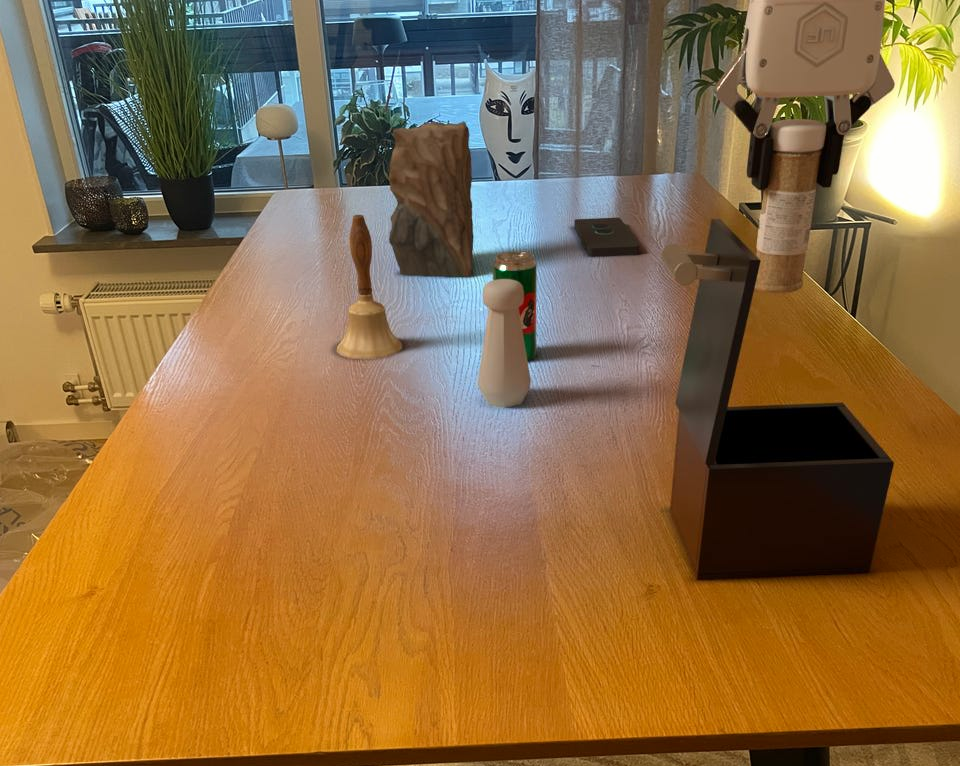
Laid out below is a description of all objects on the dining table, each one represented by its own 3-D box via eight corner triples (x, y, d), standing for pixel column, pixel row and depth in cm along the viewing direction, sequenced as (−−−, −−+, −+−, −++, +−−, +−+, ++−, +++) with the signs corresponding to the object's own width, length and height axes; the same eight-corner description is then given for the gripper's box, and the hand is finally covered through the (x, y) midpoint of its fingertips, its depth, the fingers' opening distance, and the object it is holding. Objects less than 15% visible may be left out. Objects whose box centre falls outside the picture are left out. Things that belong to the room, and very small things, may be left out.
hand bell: (416, 348, 126) (407, 213, 117) (365, 366, 121) (352, 227, 112) (373, 334, 131) (362, 204, 122) (323, 351, 126) (307, 216, 117)
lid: (720, 219, 74) (658, 214, 74) (761, 260, 65) (689, 255, 64) (683, 404, 82) (627, 400, 82) (714, 464, 73) (650, 461, 73)
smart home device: (620, 216, 174) (641, 245, 157) (620, 226, 175) (640, 256, 158) (572, 218, 173) (588, 247, 157) (572, 228, 174) (588, 259, 158)
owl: (389, 278, 152) (378, 132, 141) (411, 256, 162) (402, 118, 151) (471, 280, 150) (466, 132, 139) (487, 258, 160) (484, 118, 149)
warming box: (823, 507, 88) (843, 402, 83) (868, 576, 79) (894, 462, 73) (669, 514, 88) (678, 408, 83) (696, 583, 79) (709, 469, 73)
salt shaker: (484, 415, 108) (480, 292, 100) (473, 395, 112) (469, 276, 105) (536, 409, 109) (537, 287, 101) (524, 390, 113) (523, 272, 106)
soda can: (539, 352, 123) (540, 250, 117) (532, 366, 119) (532, 262, 113) (499, 350, 124) (497, 249, 118) (490, 364, 120) (488, 261, 114)
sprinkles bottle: (763, 278, 93) (782, 116, 85) (810, 285, 91) (835, 119, 83) (742, 290, 90) (761, 124, 82) (791, 298, 88) (815, 127, 80)
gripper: (722, -73, 72) (699, 199, 83) (958, -83, 72) (905, 191, 82) (702, -72, 78) (683, 181, 89) (920, -81, 78) (875, 173, 89)
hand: (790, 183), depth 85 cm, fingers closed on sprinkles bottle, 4 cm apart
